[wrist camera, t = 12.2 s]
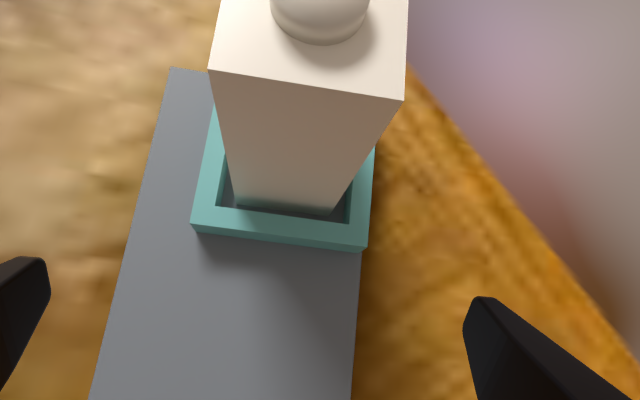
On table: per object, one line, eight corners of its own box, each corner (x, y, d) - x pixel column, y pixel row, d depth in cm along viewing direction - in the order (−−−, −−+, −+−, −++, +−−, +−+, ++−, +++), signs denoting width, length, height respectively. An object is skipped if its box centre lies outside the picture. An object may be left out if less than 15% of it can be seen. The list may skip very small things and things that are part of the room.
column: (328, 216, 23) (414, 83, 10) (236, 204, 22) (202, 48, 9) (336, 133, 24) (420, -75, 11) (250, 120, 24) (237, -114, 11)
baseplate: (341, 452, 20) (354, 473, 18) (87, 430, 19) (57, 449, 16) (369, 109, 26) (383, 83, 23) (174, 76, 25) (162, 44, 22)
